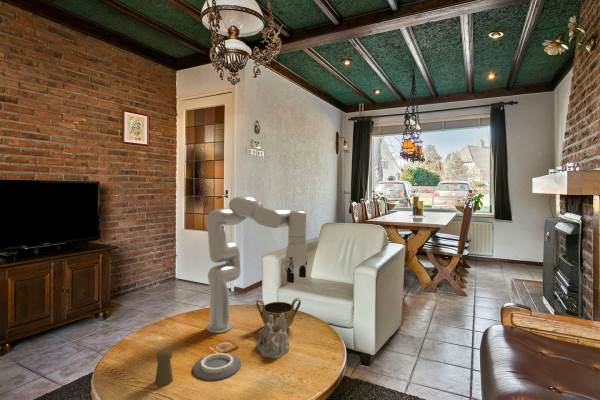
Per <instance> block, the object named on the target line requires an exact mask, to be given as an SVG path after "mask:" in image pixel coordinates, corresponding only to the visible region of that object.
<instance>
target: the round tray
mask: <svg viewBox="0 0 600 400" xmlns="http://www.w3.org/2000/svg"><path fill="white" fill-rule="evenodd" d="M241 362H242V361H241V359H240V358H239V357H238V356H237V355H236V354H235V355H234V354H231V353H225V352H218V353H212V354H209V355H205V356H203V357H201V358H199V359H198V360H197V361H196V362H195V363H194V365H193V367H192V372H193V375H194V376H195V377H197V378H198V379H201V380H203V381H219V380H224V379H227V378H230V377H232V376H234V375H236V374H237V373H238V372H239V371H240V370H241V365H242V363H241Z"/></svg>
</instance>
